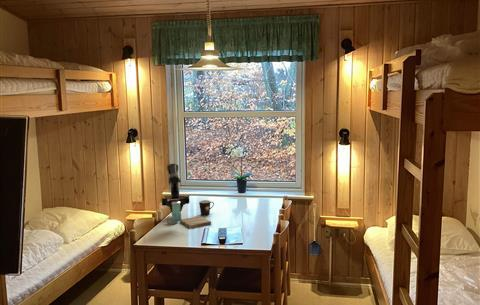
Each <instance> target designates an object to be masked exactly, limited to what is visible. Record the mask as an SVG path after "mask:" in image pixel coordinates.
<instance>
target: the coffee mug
mask: <svg viewBox="0 0 480 305" xmlns="http://www.w3.org/2000/svg"><path fill="white" fill-rule="evenodd" d="M198 204H199V210H200V216H202V217H205V216H209V215H211V214H210V211H211V209H212V208H213V207H214V205H215V203H214V201H211V200H207V199H204V200H199V201H198ZM211 204H212V206H211Z"/></svg>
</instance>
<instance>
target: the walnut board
mask: <svg viewBox="0 0 480 305" xmlns="http://www.w3.org/2000/svg"><path fill="white" fill-rule="evenodd" d="M179 223H181V224H182V225H184V226H185V227H188V228H189V229H194V228H200V227H205V226H210V225H212V221H211V220H209V219H207V218H205V217H204V216H203V215H198V216H193V217H186V218H181V221H179Z"/></svg>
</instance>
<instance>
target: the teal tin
mask: <svg viewBox="0 0 480 305" xmlns="http://www.w3.org/2000/svg"><path fill="white" fill-rule="evenodd" d="M180 203H181V202H180V201H172V202H171V205H172V213H171V215H172V221H173V222H178V223H180V221H181V219H182V211H181V205H180Z"/></svg>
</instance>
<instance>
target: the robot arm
mask: <svg viewBox="0 0 480 305" xmlns="http://www.w3.org/2000/svg"><path fill="white" fill-rule="evenodd" d="M166 171H167V172H168V175H169V178H168V184H169V185H170V198H168V197H162V198H161V206H163V207H164V206H166V207H167V208H169V210H170V212H171V214H172V205H171V202H172V201H180V202H181V203H180V205H181V212H182V210H183V208H184V206H185V205H186V204H190V196H186V195H185V196H183V198H180V197H181V196H180V188H179V186H180V185H179V184H180V183H181V178H180V177H179V174H178V172H179V165H178V164H176V163H170V164H167V166H166Z"/></svg>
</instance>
